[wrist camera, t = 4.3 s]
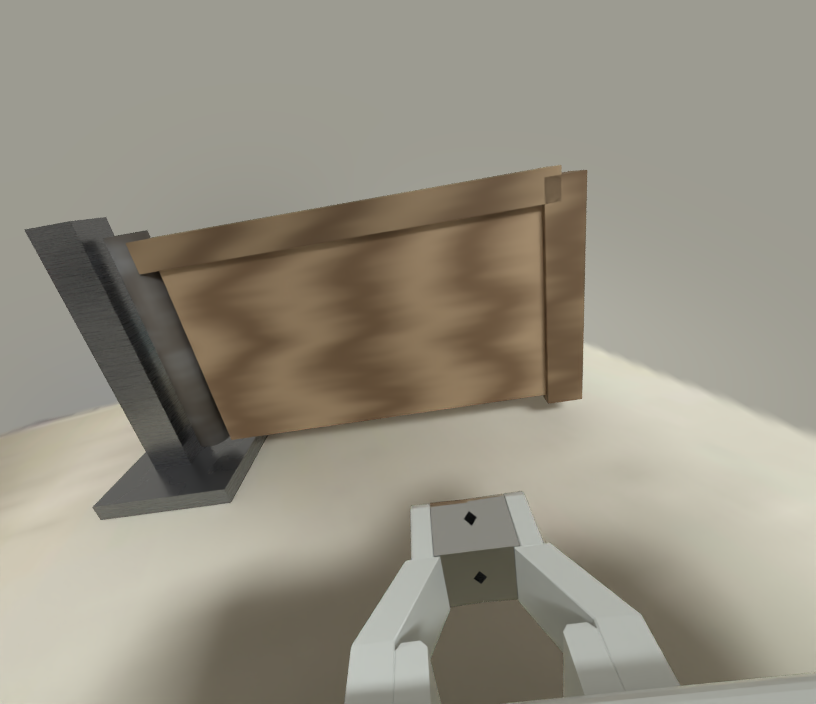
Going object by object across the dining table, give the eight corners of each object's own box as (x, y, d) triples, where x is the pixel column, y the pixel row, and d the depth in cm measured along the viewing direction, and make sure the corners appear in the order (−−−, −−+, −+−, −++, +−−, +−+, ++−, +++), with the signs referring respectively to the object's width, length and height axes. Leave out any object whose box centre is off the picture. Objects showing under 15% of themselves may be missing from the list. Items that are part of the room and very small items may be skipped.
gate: (196, 453, 24) (93, 239, 19) (211, 435, 26) (120, 235, 21) (582, 398, 23) (587, 150, 18) (568, 382, 25) (570, 153, 19)
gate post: (100, 519, 23) (-83, 245, 16) (175, 437, 30) (69, 226, 23) (230, 502, 22) (95, 212, 16) (274, 423, 29) (193, 203, 23)
